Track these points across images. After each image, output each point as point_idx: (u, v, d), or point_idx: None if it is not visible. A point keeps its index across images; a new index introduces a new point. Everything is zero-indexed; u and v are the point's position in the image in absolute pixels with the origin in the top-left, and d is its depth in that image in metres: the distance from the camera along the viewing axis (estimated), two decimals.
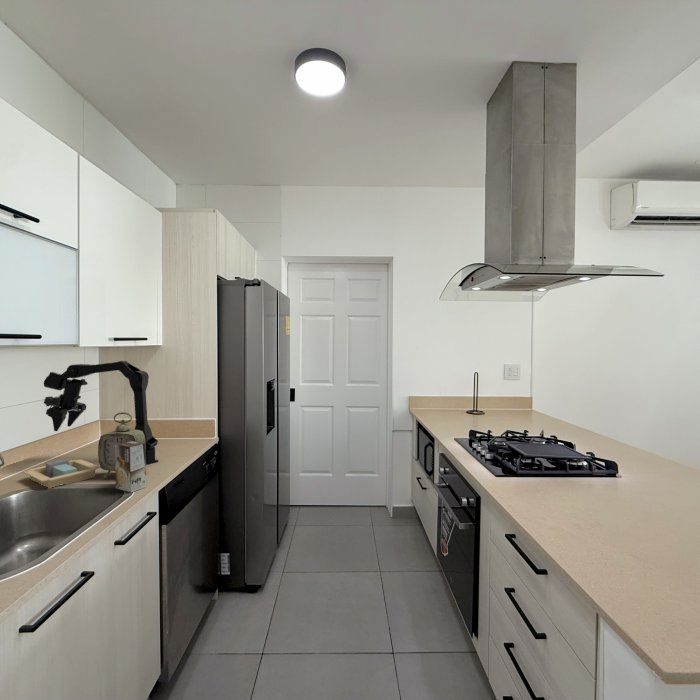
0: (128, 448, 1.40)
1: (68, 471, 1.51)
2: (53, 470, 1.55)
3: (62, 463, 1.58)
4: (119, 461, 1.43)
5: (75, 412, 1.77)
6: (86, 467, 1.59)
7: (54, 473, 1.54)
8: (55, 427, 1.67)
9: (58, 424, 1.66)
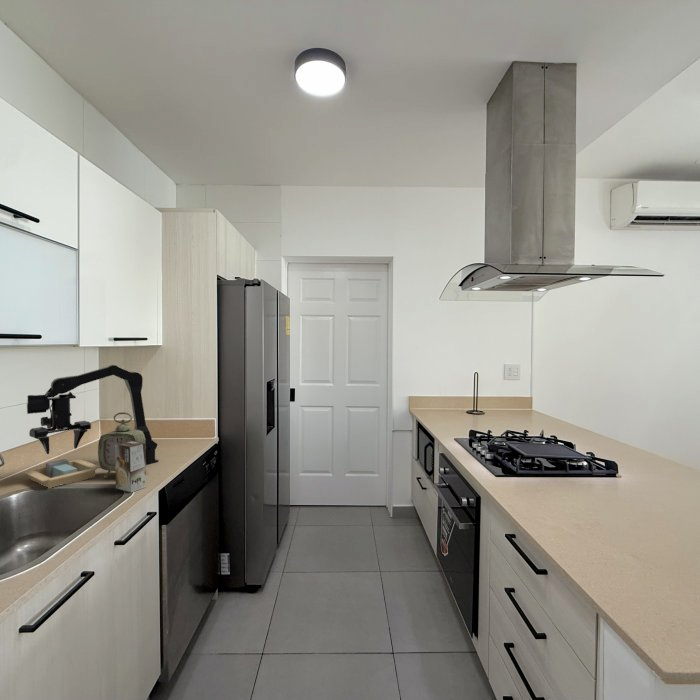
0: (128, 448, 1.40)
1: (68, 471, 1.51)
2: (53, 470, 1.55)
3: (62, 463, 1.58)
4: (119, 461, 1.43)
5: (77, 432, 1.59)
6: (86, 467, 1.59)
7: (54, 473, 1.54)
8: (45, 450, 1.51)
9: (45, 446, 1.50)
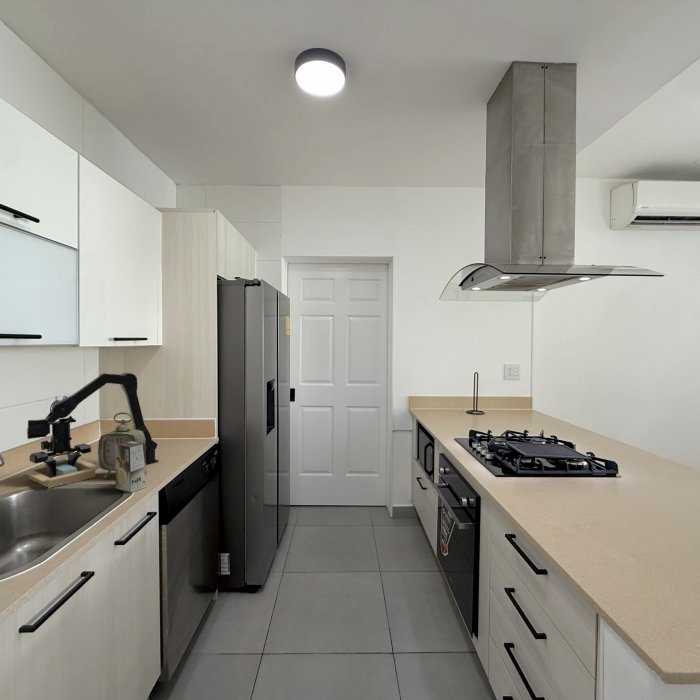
0: (128, 448, 1.40)
1: (68, 471, 1.51)
2: None
3: (62, 463, 1.58)
4: (119, 461, 1.43)
5: (71, 457, 1.57)
6: (86, 467, 1.59)
7: None
8: (52, 473, 1.53)
9: (52, 469, 1.52)
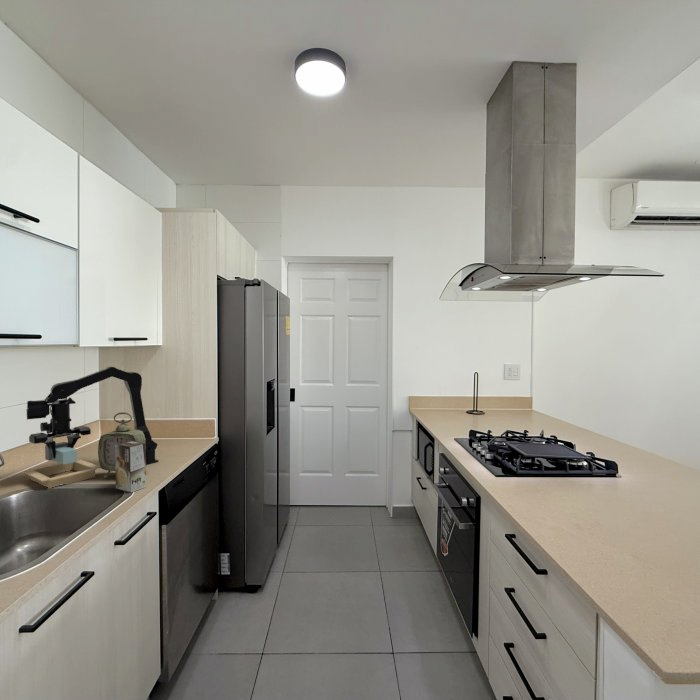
0: (128, 448, 1.40)
1: (68, 452, 1.51)
2: None
3: (62, 445, 1.58)
4: (119, 461, 1.43)
5: (70, 438, 1.57)
6: (86, 467, 1.59)
7: None
8: (52, 454, 1.53)
9: (51, 450, 1.52)
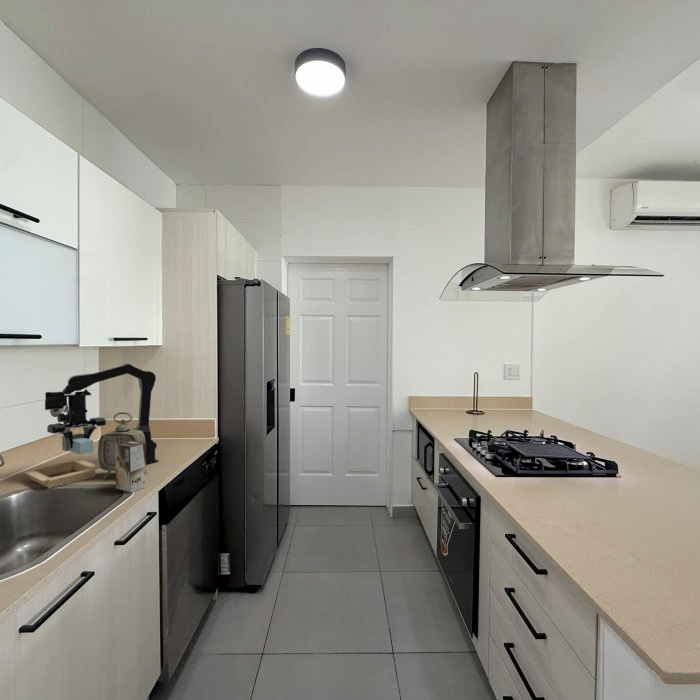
0: (128, 448, 1.40)
1: (84, 443, 1.55)
2: None
3: (78, 436, 1.62)
4: (119, 461, 1.43)
5: (87, 429, 1.62)
6: (86, 467, 1.59)
7: None
8: (69, 444, 1.58)
9: (68, 440, 1.57)
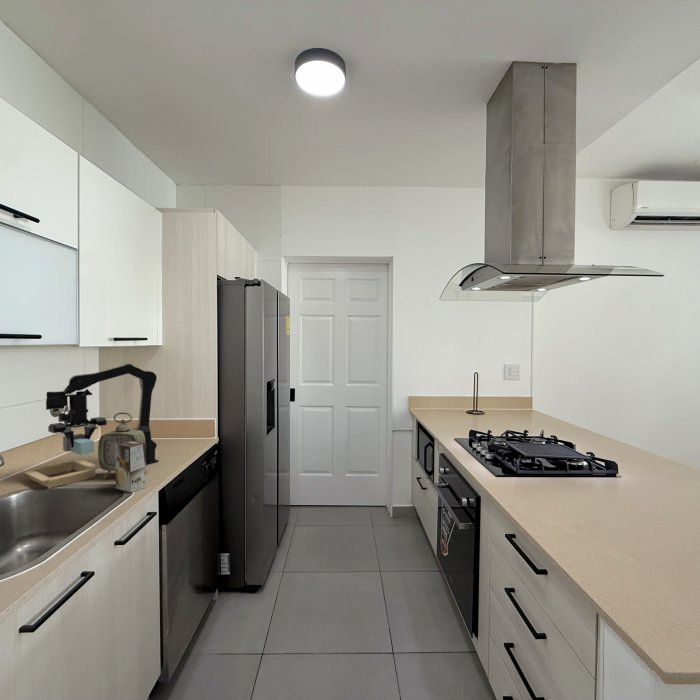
0: (128, 448, 1.40)
1: (85, 443, 1.56)
2: None
3: (79, 437, 1.63)
4: (119, 461, 1.43)
5: (88, 429, 1.62)
6: (86, 467, 1.59)
7: None
8: (70, 444, 1.58)
9: (69, 440, 1.57)
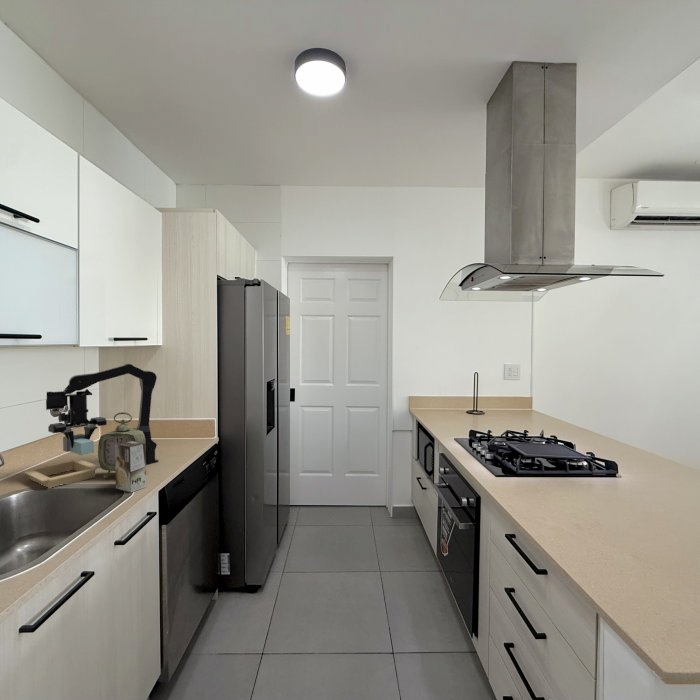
0: (128, 448, 1.40)
1: (85, 443, 1.56)
2: None
3: (79, 437, 1.63)
4: (119, 461, 1.43)
5: (87, 429, 1.62)
6: (86, 467, 1.59)
7: None
8: (70, 444, 1.58)
9: (69, 440, 1.57)
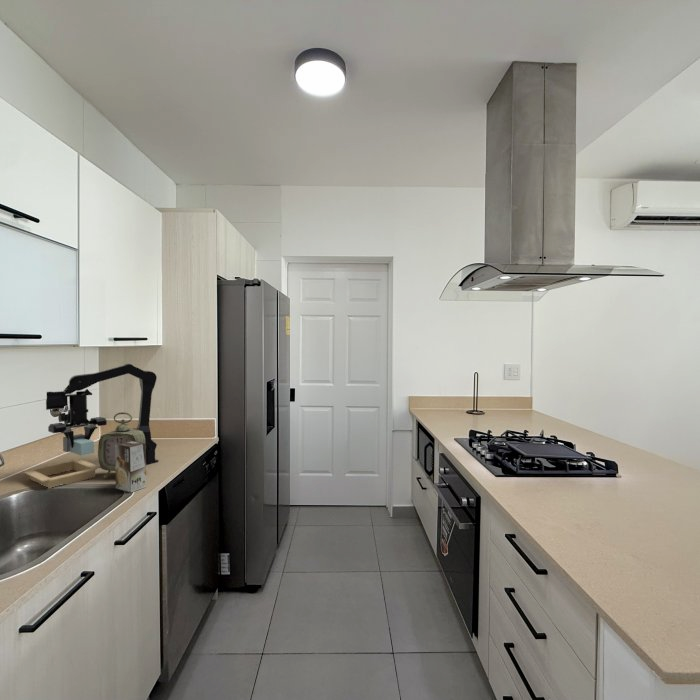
0: (128, 448, 1.40)
1: (85, 444, 1.56)
2: None
3: (79, 437, 1.63)
4: (119, 461, 1.43)
5: (88, 429, 1.62)
6: (86, 467, 1.59)
7: None
8: (70, 444, 1.58)
9: (69, 440, 1.57)
